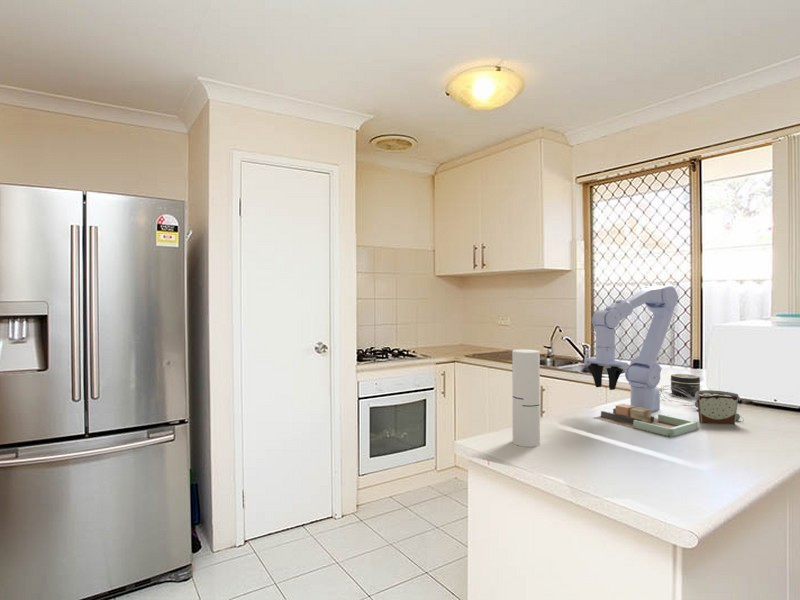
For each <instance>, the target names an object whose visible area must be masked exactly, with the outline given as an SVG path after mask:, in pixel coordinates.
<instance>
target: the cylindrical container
mask: <svg viewBox="0 0 800 600" xmlns="http://www.w3.org/2000/svg"><path fill="white" fill-rule="evenodd" d="M511 353H512V355H511V356H512V357H511V358H512V364H511V365H512V367H511V368H512V373H511V374H512V377H511V378H512V379H511V380H512V386H511V387H512V443H513V444H514V445H516V446H519V447H523V448H536V447H539V446H540V444H541V436H540V435H541V432H540V431H541V429H540V428H541V427H540V426H541V424H540V423H541V420H540V419H541V416H540V415H541V412H540V411H541V410H540V409H541V406H540V405H541V399H540V397H541V395H540V394H541V393H540V391H541V390H540V388H541V381H540V380H541V379H540V378H541V377H540V376H541V375H540V373H541V372H540V370H541V369H540V368H541V367H540V363H541V362H540V361H541V359H540V358H541V357H540V356H541V355H540V354H541V352H540V350H538V349H537V350H536V349H526V348H525V349H512V351H511Z"/></svg>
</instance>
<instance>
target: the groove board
mask: <svg viewBox="0 0 800 600" xmlns="http://www.w3.org/2000/svg"><path fill="white" fill-rule="evenodd" d="M612 412H613V413H612ZM612 412H610V411H609V412H608V411H605V410H601V411H600V415H599V416H596V417H593V419H594V420H599V421H603V422H607V423H609V424H610V423H611V424H615V425H619V426H622V427H626V428H629V429H633V430H638V431H642V432H647V433H648V434H649V433H650V434H653V435H654V434H655V435H658V436H662V437H665V438H669V439H670V438H671V437H670V436H666V435H662V434H658V433H654V432H650V431H646V430H642V429H638V428H634V427H633V420H637V421H642V420H639V419H635V418H631V417H626V416H622V415H618V414H616V407H615V408H613V409H612ZM650 424H654V425H658V426H663V427H667V428H672V427H676V426H679V425H674V424H670V423H665V422H661V421H658V418H655V417H654V416H652V415H651V423H650ZM699 429H700V428H699V427H698V429H696V430H699ZM696 430H695V431H696ZM690 432H691V431H689V432H686V433H690ZM686 433H685V434H686ZM680 435H681V434H679V435H676V436H680ZM676 436H675V437H676Z"/></svg>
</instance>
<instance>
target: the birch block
mask: <svg viewBox="0 0 800 600" xmlns="http://www.w3.org/2000/svg"><path fill="white" fill-rule="evenodd" d="M651 416H652V412H651V410H650V409H645V408H641V407H636V408H631V418H635V419H639V420H642V422H646V423H651Z"/></svg>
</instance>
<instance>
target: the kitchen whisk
mask: <svg viewBox="0 0 800 600" xmlns="http://www.w3.org/2000/svg"><path fill="white" fill-rule="evenodd" d="M666 387H668V388H669V389H670V391H671V390H673V389H671V384H670V385H664V386H662V387H661V389H658V390H659V392H660V398H661V400H662V401H664V400H665V399H666V400H668V401H670V402H672V401H673V402H674V400H673V399H669V398H667V397H666V396H665V395H664V394H663V393H665V394H667V395H669V396H673V397H675V398H678V399H681V400H683V401H687V402H686V404H685V403H684V402H682V401H680V403H681V404H683V405H682V406H685V407H695V408H697V409H698V405H697V400H695V399H694V398H695V397H689V395H688V397H687V398H690V399H691V400H690V399H687V398H685V397H682V396H676V395H674V394H673V393H670V392H667V391H666V390H668V388H666ZM674 387H675V386H674ZM679 389H680V388H679ZM675 390H676V389H675ZM676 391H678V390H676ZM682 391H683V390H682ZM679 392H680V391H679ZM684 392H685V391H684ZM681 393H683V392H681ZM684 394H685V393H684ZM687 394H688V393H687ZM687 394H686V396H687ZM662 396H663V397H662ZM690 396H691V395H690ZM693 400H694V401H693ZM675 402H677V403H679V401H676V400H675ZM690 403H692V404H690ZM740 419H741V415H740V414H739V413H738V412H737V413H736V420H738V421H740ZM744 420H745V419H744V418H742V421H740V422H744Z"/></svg>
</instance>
